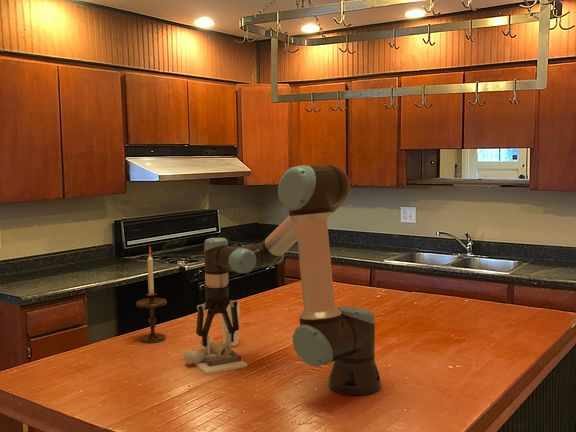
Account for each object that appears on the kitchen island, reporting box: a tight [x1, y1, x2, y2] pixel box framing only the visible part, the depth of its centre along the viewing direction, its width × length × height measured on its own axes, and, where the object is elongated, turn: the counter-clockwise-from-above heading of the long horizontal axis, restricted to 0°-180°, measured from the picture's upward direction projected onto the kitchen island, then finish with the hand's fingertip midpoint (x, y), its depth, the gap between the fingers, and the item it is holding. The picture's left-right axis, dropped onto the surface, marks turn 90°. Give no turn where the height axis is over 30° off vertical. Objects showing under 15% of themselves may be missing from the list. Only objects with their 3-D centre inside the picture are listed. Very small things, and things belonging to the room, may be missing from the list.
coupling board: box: [183, 338, 248, 375], centre depth 199 cm, size 22×17×5 cm
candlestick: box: [136, 245, 168, 344], centre depth 222 cm, size 11×11×35 cm
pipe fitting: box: [210, 341, 228, 359], centre depth 199 cm, size 8×4×7 cm
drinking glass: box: [220, 302, 241, 347], centre depth 216 cm, size 7×7×15 cm
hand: (218, 353), depth 199 cm, fingers closed on pipe fitting, 7 cm apart
